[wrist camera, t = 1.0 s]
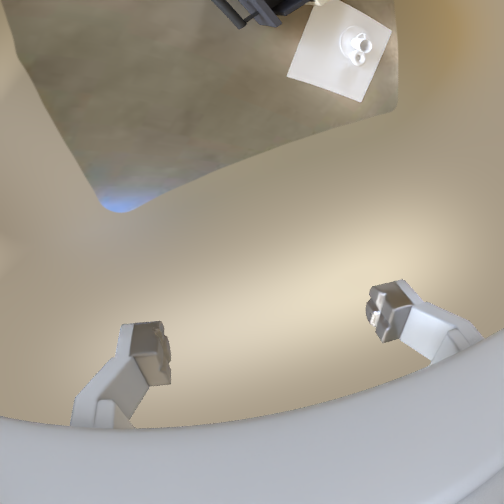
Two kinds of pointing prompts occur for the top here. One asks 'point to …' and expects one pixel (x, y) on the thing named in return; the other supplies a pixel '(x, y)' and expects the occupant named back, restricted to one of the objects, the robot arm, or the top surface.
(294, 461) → the robot arm
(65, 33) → the top surface
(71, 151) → the top surface
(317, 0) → the cabinet
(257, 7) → the drawer
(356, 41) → the teacup and saucer
